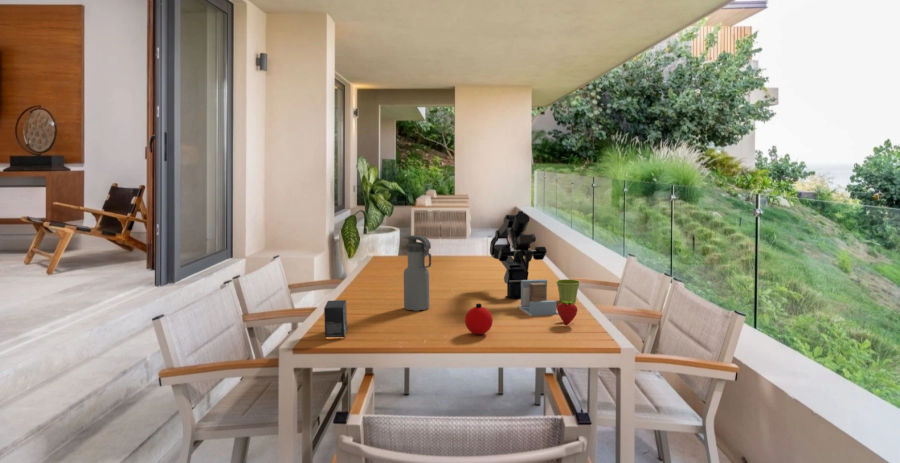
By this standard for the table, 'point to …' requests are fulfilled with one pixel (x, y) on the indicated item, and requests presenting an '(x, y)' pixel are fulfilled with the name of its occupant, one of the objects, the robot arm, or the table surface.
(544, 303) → the fixed jaw
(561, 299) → the plant pot
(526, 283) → the jaw
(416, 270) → the water bottle
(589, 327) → the table surface
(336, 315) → the small box
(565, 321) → the strawberry
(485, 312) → the ornament
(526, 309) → the light blue base plate
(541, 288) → the block
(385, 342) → the table surface
